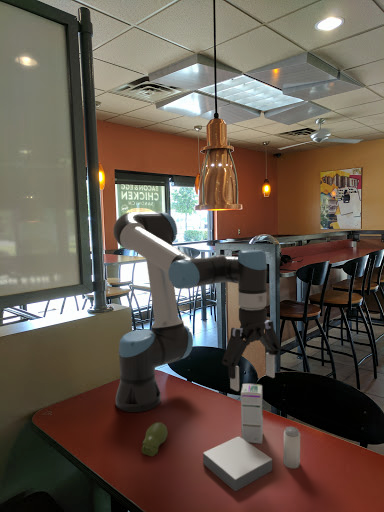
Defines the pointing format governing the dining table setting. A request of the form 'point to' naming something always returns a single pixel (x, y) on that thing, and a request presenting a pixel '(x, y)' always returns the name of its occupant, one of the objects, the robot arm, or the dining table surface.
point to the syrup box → (252, 413)
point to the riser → (237, 462)
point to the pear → (154, 438)
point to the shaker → (291, 447)
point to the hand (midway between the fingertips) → (253, 382)
